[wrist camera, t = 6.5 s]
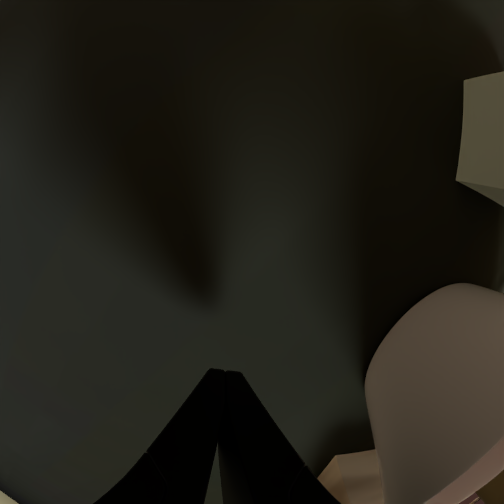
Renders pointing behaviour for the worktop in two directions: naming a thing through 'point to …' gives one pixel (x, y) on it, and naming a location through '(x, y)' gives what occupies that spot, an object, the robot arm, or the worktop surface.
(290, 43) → the worktop surface
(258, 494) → the robot arm
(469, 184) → the sage block
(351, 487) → the birch block
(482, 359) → the candle
